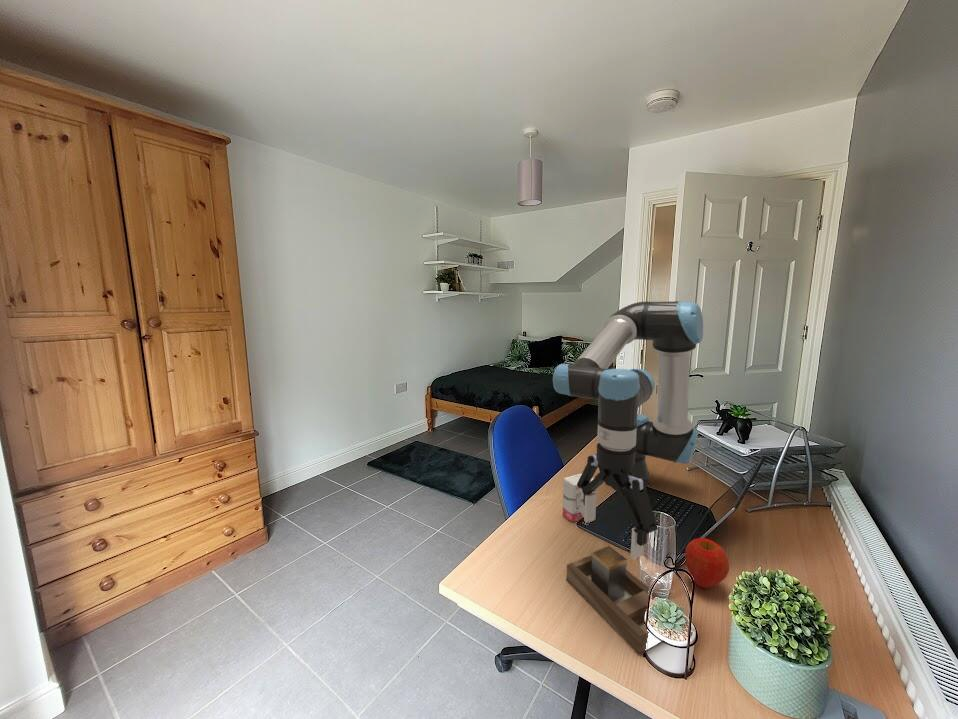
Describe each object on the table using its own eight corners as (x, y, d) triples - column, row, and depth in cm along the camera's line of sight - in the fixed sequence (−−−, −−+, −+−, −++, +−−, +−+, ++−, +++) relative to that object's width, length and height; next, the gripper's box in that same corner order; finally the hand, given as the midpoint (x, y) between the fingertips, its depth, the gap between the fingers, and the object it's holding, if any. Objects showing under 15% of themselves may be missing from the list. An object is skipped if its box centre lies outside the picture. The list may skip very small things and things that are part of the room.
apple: (735, 595, 84) (740, 551, 82) (703, 604, 82) (708, 558, 80) (703, 569, 92) (707, 528, 90) (674, 575, 90) (677, 534, 88)
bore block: (602, 565, 94) (603, 550, 93) (679, 632, 75) (681, 614, 74) (566, 580, 89) (566, 564, 88) (639, 655, 70) (640, 636, 70)
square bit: (607, 580, 88) (609, 545, 87) (625, 596, 84) (627, 559, 82) (590, 588, 86) (591, 552, 84) (607, 605, 81) (609, 567, 80)
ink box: (572, 523, 111) (573, 485, 109) (561, 514, 115) (562, 478, 113) (594, 515, 115) (596, 478, 113) (583, 507, 119) (585, 472, 117)
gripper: (563, 428, 88) (561, 512, 92) (654, 474, 66) (646, 581, 70) (588, 423, 91) (585, 504, 95) (683, 464, 69) (674, 568, 73)
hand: (611, 537), depth 83 cm, fingers open, 13 cm apart
